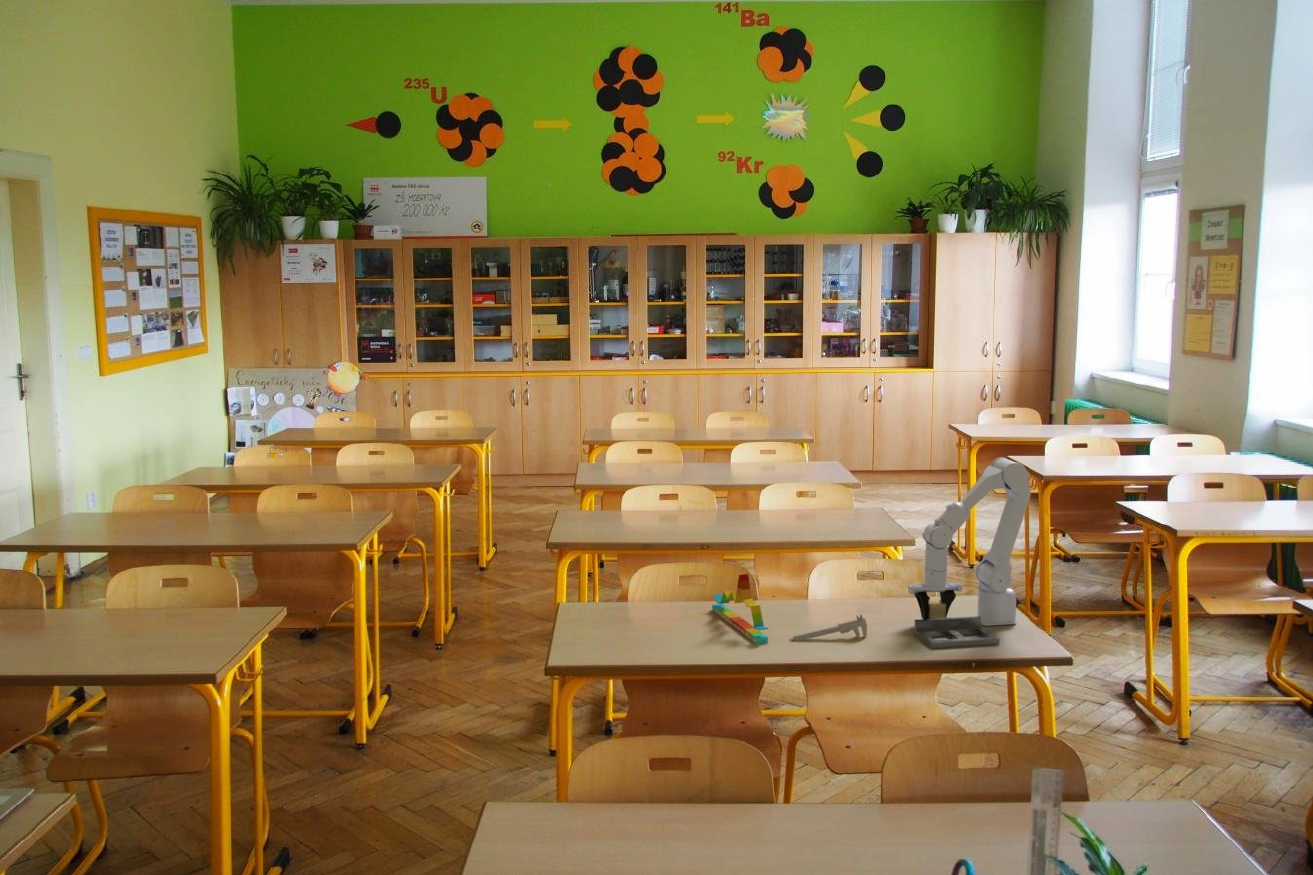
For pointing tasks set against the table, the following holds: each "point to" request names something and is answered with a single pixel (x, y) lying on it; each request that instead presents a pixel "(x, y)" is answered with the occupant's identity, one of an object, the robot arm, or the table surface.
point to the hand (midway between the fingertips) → (933, 618)
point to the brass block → (936, 609)
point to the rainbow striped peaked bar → (739, 623)
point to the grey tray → (953, 632)
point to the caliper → (836, 629)
